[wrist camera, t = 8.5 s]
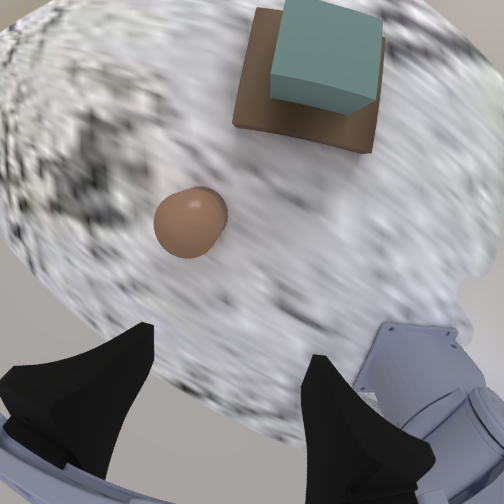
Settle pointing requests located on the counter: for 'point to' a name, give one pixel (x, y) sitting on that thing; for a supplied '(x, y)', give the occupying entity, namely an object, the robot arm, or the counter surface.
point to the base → (289, 113)
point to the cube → (326, 57)
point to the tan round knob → (190, 221)
